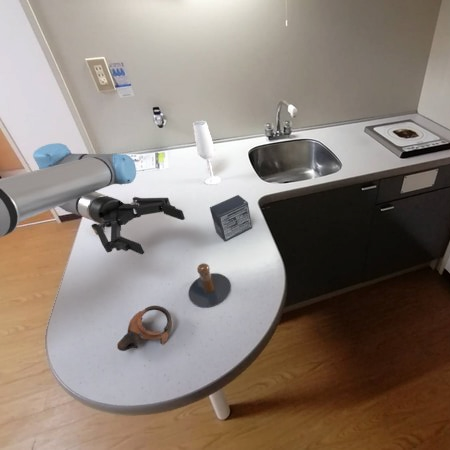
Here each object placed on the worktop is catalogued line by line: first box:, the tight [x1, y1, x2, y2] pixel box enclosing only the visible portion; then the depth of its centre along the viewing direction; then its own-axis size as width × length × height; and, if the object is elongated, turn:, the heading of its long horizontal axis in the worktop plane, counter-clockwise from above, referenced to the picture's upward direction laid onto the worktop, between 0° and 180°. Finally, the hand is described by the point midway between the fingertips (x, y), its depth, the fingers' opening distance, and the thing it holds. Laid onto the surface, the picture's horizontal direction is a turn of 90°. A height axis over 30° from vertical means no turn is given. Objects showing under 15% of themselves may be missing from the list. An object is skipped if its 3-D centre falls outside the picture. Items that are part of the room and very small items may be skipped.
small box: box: [209, 194, 253, 242], centre depth 98 cm, size 11×6×10 cm, turn 130°
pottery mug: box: [116, 305, 173, 352], centre depth 70 cm, size 12×10×8 cm
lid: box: [188, 262, 232, 309], centre depth 79 cm, size 11×11×10 cm
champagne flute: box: [192, 120, 222, 186], centre depth 117 cm, size 7×7×24 cm
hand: (163, 231), depth 74 cm, fingers open, 13 cm apart
